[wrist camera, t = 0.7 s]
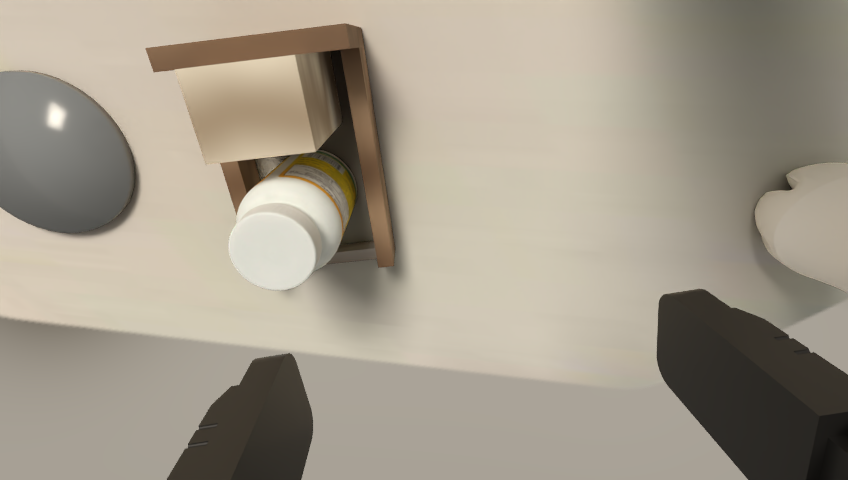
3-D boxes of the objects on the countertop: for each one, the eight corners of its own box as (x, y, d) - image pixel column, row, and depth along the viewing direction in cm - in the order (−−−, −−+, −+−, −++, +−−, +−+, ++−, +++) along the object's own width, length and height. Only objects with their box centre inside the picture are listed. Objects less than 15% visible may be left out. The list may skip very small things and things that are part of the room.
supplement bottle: (341, 137, 27) (306, 182, 18) (369, 214, 29) (349, 288, 20) (261, 160, 27) (190, 216, 19) (294, 234, 30) (244, 314, 21)
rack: (205, 47, 25) (117, 48, 17) (361, 27, 24) (338, 21, 17) (269, 262, 30) (223, 332, 23) (395, 249, 30) (389, 314, 23)
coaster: (-73, 81, 25) (-84, 82, 24) (94, 60, 25) (87, 61, 24) (14, 236, 29) (6, 240, 29) (158, 220, 29) (153, 224, 28)
